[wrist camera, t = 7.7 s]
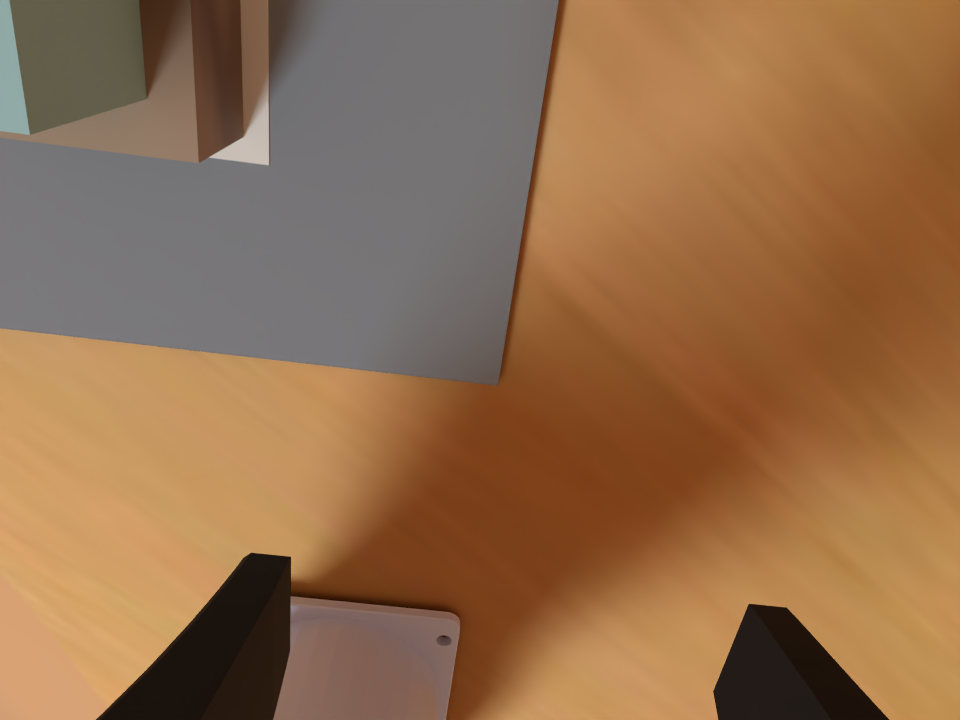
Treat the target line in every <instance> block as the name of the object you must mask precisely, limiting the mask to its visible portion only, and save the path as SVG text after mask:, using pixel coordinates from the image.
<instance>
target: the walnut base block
mask: <svg viewBox="0 0 960 720" xmlns="http://www.w3.org/2000/svg"><path fill="white" fill-rule="evenodd" d="M139 7H140V20H141V33H142V45H143V58H144V71H145V83H146V96H147V99H146V100H142V101H139V102H136V103H132V104H129V105H126V106H123V107H119V108H116V109H113V110H110V111H106V112H103V113H100V114H97V115H93V116H90V117H87V118H84V119H80V120H77V121H74V122H71V123H67V124H64V125H61V126H57V127H54V128H51V129H48V130H44V131H41V132H38V133H35V134H31V135H26V134H19V133H11V132H4V131H0V138H6V139H14V140H22V141H29V142H37V143H45V144H53V145H61V146H69V147H76V148H84V149H92V150H100V151H108V152H115V153H123V154H131V155H139V156H147V157H154V158H162V159H170V160H178V161H186V162H194V163H200V162H202V161H203V160H205V159H207V158H208V157H210V156H212V155H214V154H215V153H217V152H219V151H220V150H222V149H224V148H226V147H227V146H229V145H231V144H232V143H234V142H236V141H238V140H239V139H241V138H243V137H244V128H243V87H242V45H241V3H240V0H139Z"/></svg>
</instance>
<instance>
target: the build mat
mask: <svg viewBox="0 0 960 720" xmlns="http://www.w3.org/2000/svg"><path fill="white" fill-rule="evenodd" d="M558 2H559V0H240V3H241V45H242V87H243V128H244V137H243V138H241V139H239V140H238V141H236V142H234V143H232V144H231V145H229V146H227V147H226V148H224V149H222V150H220V151H219V152H217V153H215V154H214V155H212V156H210V157H208V158H207V159H205V160H203V161H202V162H200V163H194V162H186V161H178V160H170V159H162V158H154V157H147V156H139V155H131V154H123V153H115V152H108V151H100V150H92V149H84V148H76V147H69V146H61V145H53V144H45V143H37V142H29V141H22V140H14V139H6V138H0V328H3V329H12V330H21V331H29V332H38V333H47V334H55V335H64V336H73V337H81V338H90V339H99V340H107V341H116V342H125V343H133V344H142V345H151V346H159V347H168V348H176V349H185V350H194V351H202V352H211V353H220V354H228V355H237V356H246V357H254V358H263V359H272V360H280V361H289V362H298V363H306V364H315V365H324V366H332V367H341V368H350V369H358V370H367V371H376V372H384V373H393V374H402V375H410V376H419V377H428V378H436V379H445V380H454V381H462V382H471V383H480V384H488V385H497V386H498V382H499V376H500V370H501V363H502V357H503V351H504V344H505V338H506V332H507V325H508V319H509V313H510V306H511V300H512V294H513V287H514V281H515V275H516V268H517V262H518V256H519V249H520V243H521V237H522V230H523V224H524V218H525V211H526V205H527V199H528V192H529V186H530V180H531V173H532V167H533V161H534V154H535V148H536V142H537V135H538V129H539V123H540V116H541V110H542V103H543V97H544V91H545V84H546V78H547V72H548V65H549V59H550V53H551V46H552V40H553V34H554V27H555V21H556V15H557V8H558Z"/></svg>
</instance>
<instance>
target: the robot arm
mask: <svg viewBox="0 0 960 720" xmlns="http://www.w3.org/2000/svg"><path fill="white" fill-rule="evenodd" d="M459 634H460V619H459V618H458V616H456V615H455V614H453V613H450V612H444V611H434V610H424V609H414V608H404V607H394V606H384V605H374V604H364V603H354V602H344V601H334V600H324V599H314V598H304V597H294V596H291V557H286V556H277V555H267V554H257V553H250V554H249V555H247V556H246V557H244V558H243V559H242V561H241V562H240V563H239V565H238V566H237V567H236V569H235V570H234V571H233V572H232V574H231V575H230V576H229V577H228V579H227V580H226V581H225V582H224V584H223V585H222V586H221V587H220V588H219V590H218V591H217V592H216V593H215V594H214V596H213V597H212V598H211V599H210V600H209V602H208V603H207V604H206V605H205V606H204V607H203V609H202V610H201V611H200V612H199V613H198V614H197V615H196V617H195V618H194V619H193V620H192V621H191V622H190V623H189V625H188V626H187V627H186V628H185V629H184V630H183V631H182V632H181V633H180V634H179V635H178V637H177V638H176V639H175V640H174V641H173V642H172V643H171V644H170V645H169V646H168V647H167V649H166V650H165V651H164V652H163V653H162V654H161V655H160V656H159V657H158V658H157V659H156V660H155V662H154V663H153V664H152V665H151V666H150V667H149V668H148V669H147V670H146V671H145V672H144V673H143V674H142V675H141V676H140V677H139V678H138V679H137V680H136V681H135V682H134V683H133V684H132V685H131V686H130V687H129V688H128V689H127V690H126V691H125V692H124V693H123V694H122V695H121V696H120V697H119V698H118V699H117V700H116V701H115V702H114V703H113V704H112V705H111V706H110V707H109V708H108V709H107V710H106V711H105V712H104V713H103V714H102V715H101V716H99V717H98V718H97V719H96V720H446V716H447V710H448V703H449V697H450V691H451V684H452V678H453V672H454V665H455V659H456V653H457V646H458V640H459ZM442 635H445V636H448V637H442ZM713 692H714V698H715V703H716V709H717V714H718V720H889V719H888V718H887V717H886V716H885V715H884V714H883V712H882V711H881V710H880V709H879V708H878V707H877V706H876V705H875V704H874V703H873V702H872V701H871V699H870V698H869V697H868V696H867V695H866V694H865V693H864V692H863V691H862V690H861V689H860V688H859V686H858V685H857V684H856V683H855V682H854V681H853V680H852V679H851V678H850V676H849V675H848V674H847V673H846V672H845V671H844V670H843V669H842V668H841V667H840V665H839V664H838V663H837V662H836V661H835V660H834V659H833V658H832V657H831V655H830V654H829V653H828V652H827V651H826V650H825V649H824V648H823V647H822V645H821V644H820V643H819V642H818V641H817V640H816V639H815V638H814V637H813V636H812V634H811V633H810V632H809V631H808V630H807V629H806V628H805V627H804V626H803V625H802V624H801V622H800V621H799V620H798V619H797V618H796V617H795V616H794V615H793V614H792V613H791V612H790V611H789V610H788V609H787V608H784V607H775V606H765V605H755V604H749V605H748V607H747V610H746V612H745V615H744V617H743V620H742V622H741V625H740V627H739V630H738V632H737V634H736V637H735V639H734V642H733V644H732V647H731V649H730V652H729V654H728V657H727V659H726V662H725V664H724V667H723V669H722V671H721V674H720V676H719V679H718V681H717V684H716V686H715V689H714V691H713Z"/></svg>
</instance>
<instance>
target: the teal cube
mask: <svg viewBox="0 0 960 720" xmlns="http://www.w3.org/2000/svg"><path fill="white" fill-rule="evenodd" d="M146 99H147V96H146V83H145V71H144V58H143V45H142V33H141V20H140V7H139V0H0V131H4V132H11V133H19V134H26V135H31V134H35V133H38V132H41V131H44V130H48V129H51V128H54V127H57V126H61V125H64V124H67V123H71V122H74V121H77V120H80V119H84V118H87V117H90V116H93V115H97V114H100V113H103V112H106V111H110V110H113V109H116V108H119V107H123V106H126V105H129V104H132V103H136V102H139V101H142V100H146Z"/></svg>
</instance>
